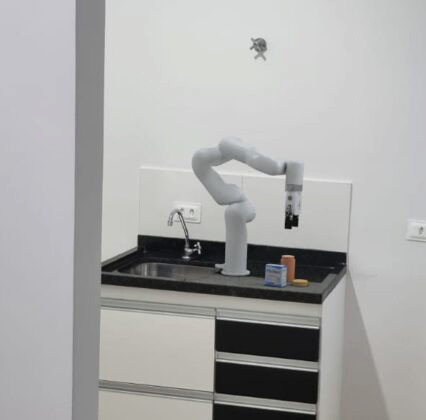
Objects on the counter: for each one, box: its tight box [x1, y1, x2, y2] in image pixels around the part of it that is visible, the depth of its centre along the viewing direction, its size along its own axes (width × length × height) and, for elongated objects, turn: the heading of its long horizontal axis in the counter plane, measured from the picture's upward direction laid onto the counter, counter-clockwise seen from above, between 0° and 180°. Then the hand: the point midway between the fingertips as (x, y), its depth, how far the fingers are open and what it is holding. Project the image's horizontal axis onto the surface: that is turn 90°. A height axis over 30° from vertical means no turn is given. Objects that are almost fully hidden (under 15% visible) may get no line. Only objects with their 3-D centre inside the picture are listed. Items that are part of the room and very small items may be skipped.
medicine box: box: [264, 263, 287, 288], centre depth 358 cm, size 8×4×9 cm, turn 66°
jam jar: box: [280, 254, 296, 283], centre depth 371 cm, size 6×6×10 cm
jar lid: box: [291, 278, 309, 287], centre depth 361 cm, size 7×7×2 cm
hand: (291, 227), depth 372 cm, fingers open, 9 cm apart
